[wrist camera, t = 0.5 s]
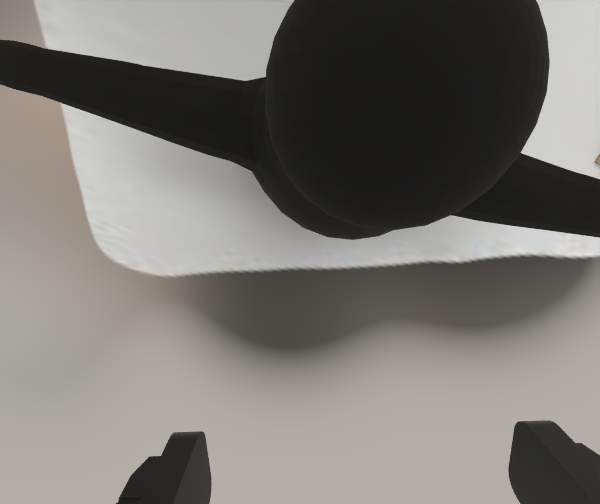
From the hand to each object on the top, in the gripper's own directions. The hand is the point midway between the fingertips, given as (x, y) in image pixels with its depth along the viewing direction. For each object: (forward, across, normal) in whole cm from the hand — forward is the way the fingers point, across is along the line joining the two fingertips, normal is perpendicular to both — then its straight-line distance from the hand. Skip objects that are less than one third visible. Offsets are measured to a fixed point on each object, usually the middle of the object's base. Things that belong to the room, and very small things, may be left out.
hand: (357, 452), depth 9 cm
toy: (+29, -2, -8) cm, 31 cm away
